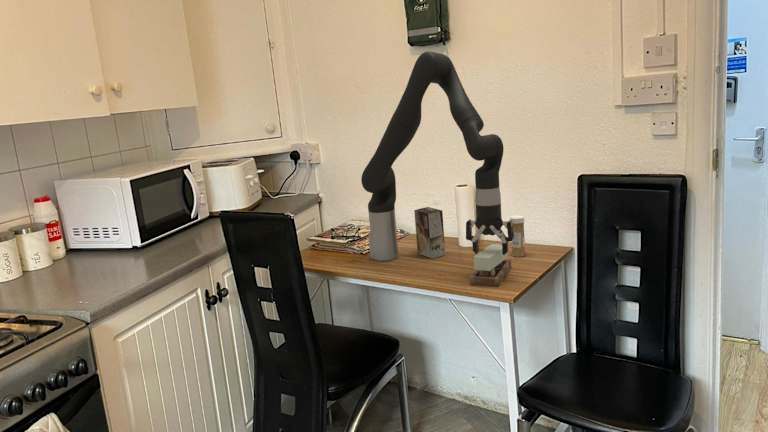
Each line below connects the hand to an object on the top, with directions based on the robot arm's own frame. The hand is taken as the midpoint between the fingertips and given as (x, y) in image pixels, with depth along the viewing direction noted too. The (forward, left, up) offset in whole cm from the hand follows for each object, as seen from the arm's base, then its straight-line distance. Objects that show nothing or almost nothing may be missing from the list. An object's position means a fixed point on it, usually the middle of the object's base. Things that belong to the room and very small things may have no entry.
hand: (490, 253), depth 189 cm
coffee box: (-26, +19, -7) cm, 33 cm away
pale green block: (0, 0, -3) cm, 3 cm away
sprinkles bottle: (+4, +22, -7) cm, 24 cm away
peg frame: (0, 0, -7) cm, 7 cm away
